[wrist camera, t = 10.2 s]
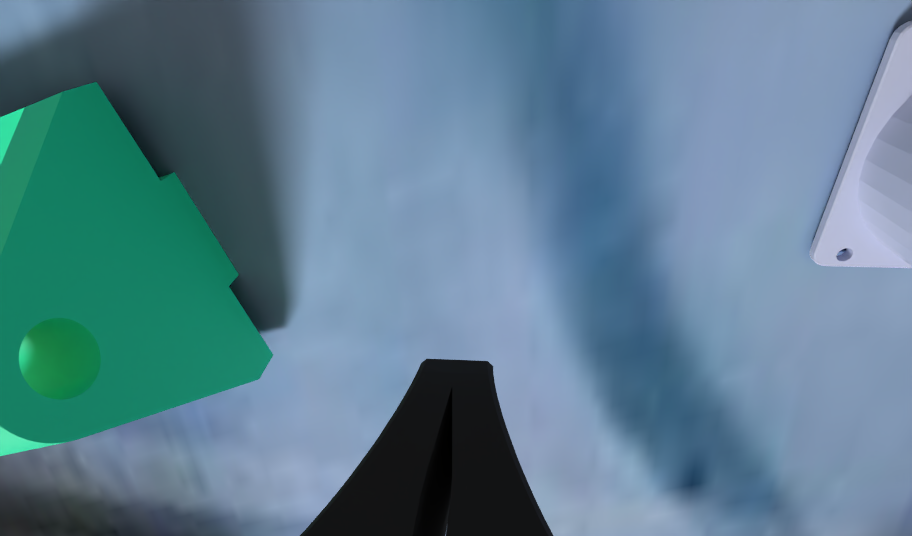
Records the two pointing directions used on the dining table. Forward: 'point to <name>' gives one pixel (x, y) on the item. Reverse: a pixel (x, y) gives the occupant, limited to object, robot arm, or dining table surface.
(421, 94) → the dining table surface
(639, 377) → the dining table surface
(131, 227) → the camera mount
